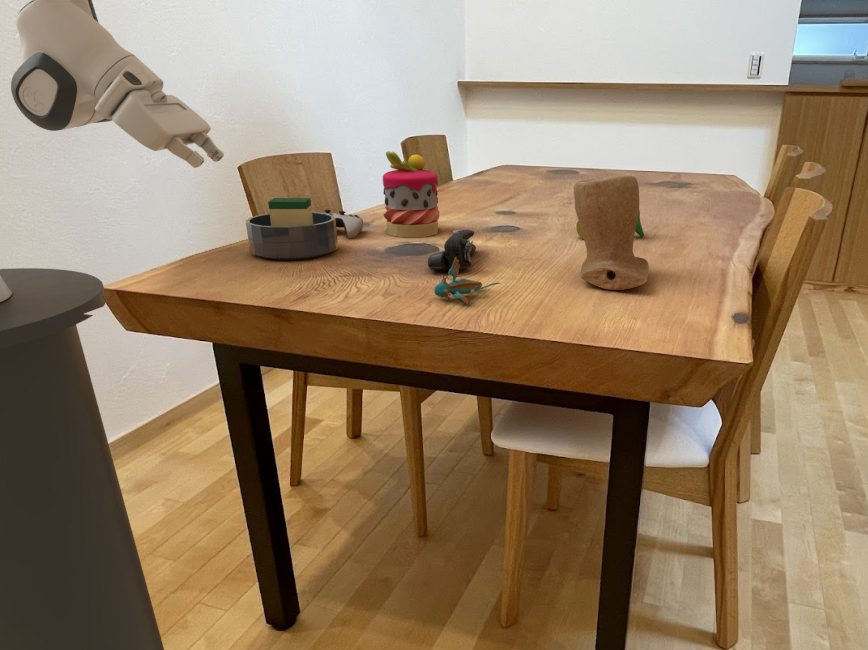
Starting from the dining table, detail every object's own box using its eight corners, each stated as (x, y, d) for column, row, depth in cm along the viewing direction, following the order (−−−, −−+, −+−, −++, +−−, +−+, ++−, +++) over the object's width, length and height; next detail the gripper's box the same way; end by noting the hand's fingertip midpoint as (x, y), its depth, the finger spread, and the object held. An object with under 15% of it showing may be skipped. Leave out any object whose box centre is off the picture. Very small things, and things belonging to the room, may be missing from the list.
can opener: (468, 277, 99) (467, 240, 96) (423, 274, 100) (421, 237, 97) (491, 251, 114) (491, 218, 112) (452, 249, 116) (451, 216, 113)
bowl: (252, 264, 104) (247, 229, 101) (249, 245, 116) (244, 214, 113) (344, 257, 109) (341, 224, 106) (331, 240, 121) (328, 209, 118)
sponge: (274, 250, 110) (267, 201, 107) (280, 245, 114) (273, 197, 110) (311, 250, 111) (305, 201, 107) (315, 245, 114) (310, 197, 111)
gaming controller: (297, 229, 124) (310, 198, 126) (313, 248, 129) (325, 218, 131) (350, 234, 120) (362, 202, 123) (364, 253, 126) (375, 222, 128)
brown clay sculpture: (575, 264, 107) (581, 167, 101) (650, 269, 104) (660, 170, 98) (560, 289, 93) (564, 179, 87) (645, 296, 91) (656, 183, 85)
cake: (418, 224, 135) (415, 147, 129) (450, 232, 128) (448, 151, 122) (374, 231, 129) (369, 150, 123) (406, 240, 122) (401, 154, 116)
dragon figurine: (448, 277, 95) (424, 267, 87) (494, 260, 92) (474, 249, 85) (459, 320, 94) (436, 314, 86) (506, 305, 92) (487, 298, 84)
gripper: (149, 107, 110) (219, 169, 115) (88, 110, 92) (175, 183, 97) (172, 78, 109) (242, 142, 114) (114, 76, 90) (201, 152, 95)
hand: (211, 161), depth 105 cm, fingers open, 8 cm apart
